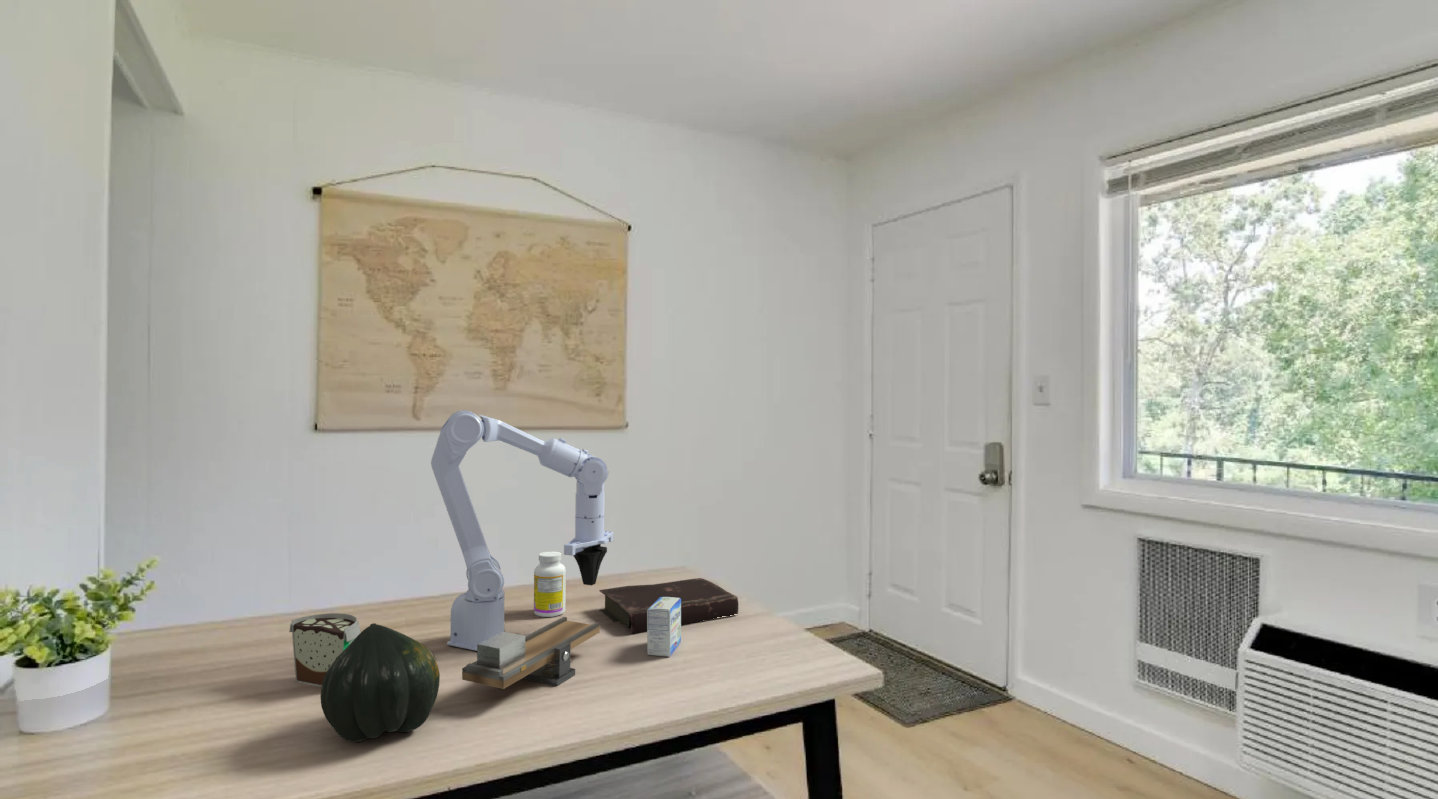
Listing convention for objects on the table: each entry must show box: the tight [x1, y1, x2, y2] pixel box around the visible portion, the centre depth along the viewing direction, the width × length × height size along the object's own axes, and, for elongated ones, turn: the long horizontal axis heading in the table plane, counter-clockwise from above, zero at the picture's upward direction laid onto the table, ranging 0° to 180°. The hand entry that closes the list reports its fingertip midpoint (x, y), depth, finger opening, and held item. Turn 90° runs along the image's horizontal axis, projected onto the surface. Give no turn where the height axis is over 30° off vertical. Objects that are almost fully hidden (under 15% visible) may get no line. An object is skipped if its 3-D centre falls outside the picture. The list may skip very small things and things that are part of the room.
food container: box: [288, 612, 362, 688], centre depth 115 cm, size 12×6×10 cm, turn 71°
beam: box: [461, 616, 601, 690], centre depth 118 cm, size 8×26×2 cm, turn 157°
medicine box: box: [646, 597, 682, 658], centre depth 130 cm, size 8×4×9 cm, turn 168°
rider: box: [476, 631, 526, 673], centre depth 110 cm, size 4×6×4 cm
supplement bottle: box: [533, 550, 567, 618], centre depth 150 cm, size 7×7×13 cm
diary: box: [599, 577, 739, 635], centre depth 152 cm, size 19×25×5 cm
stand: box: [515, 633, 576, 687], centre depth 118 cm, size 12×5×6 cm, turn 67°
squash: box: [319, 622, 441, 743], centre depth 99 cm, size 14×15×15 cm
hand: (589, 584), depth 139 cm, fingers closed
